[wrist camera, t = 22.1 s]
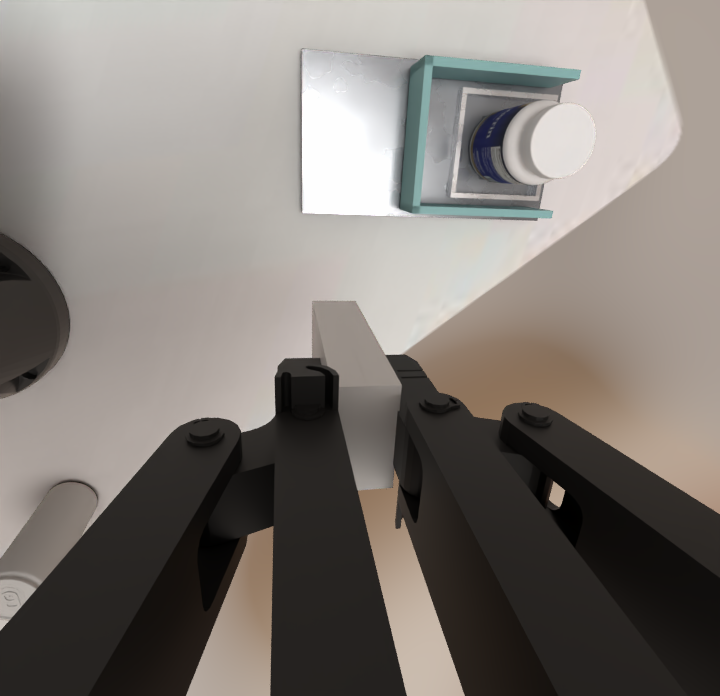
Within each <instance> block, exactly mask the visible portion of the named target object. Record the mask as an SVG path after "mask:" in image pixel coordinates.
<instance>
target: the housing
mask: <svg viewBox="0 0 720 696" xmlns="http://www.w3.org/2000/svg"><path fill="white" fill-rule="evenodd" d="M580 73H581V70H576V69H565V68H555V67H544V66H534V65H524V64H513V63H503V62H492V61H482V60H472V59H461V58H451V57H441V56H430V55H425V56H424V57H423V58H421V59H420V60H419V61H417V62H416V63H415V64H414V65H412V66H411V68H410V82H409V95H408V108H407V121H406V135H405V148H404V161H403V174H402V188H401V201H400V210H403V211H406V212H409V213H411V214H435V215H465V216H495V217H525V218H552V214H553V211H550V210H544V209H537V208H531V207H513V206H486V205H459V204H433V203H420V201H421V190H422V179H423V169H424V158H425V147H426V136H427V125H428V114H429V103H430V92H431V81H432V78H443V79H454V80H465V81H477V82H488V83H500V84H511V85H523V86H534V87H545V88H551V87H555V86H558V85H561V84H565V83H568V82H571V81H575V80H578V79H579V78H580Z"/></svg>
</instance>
